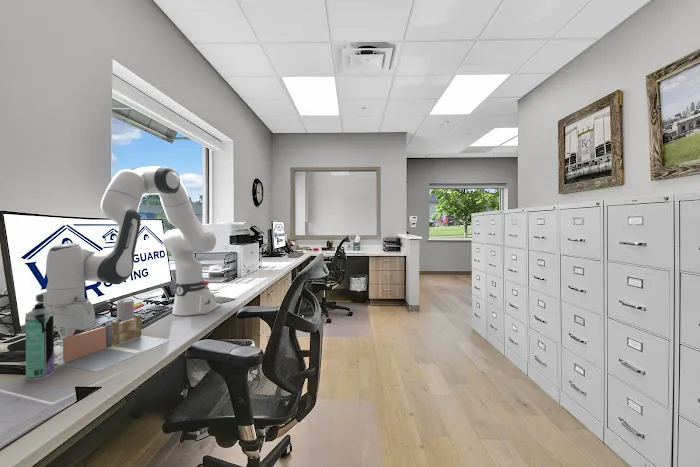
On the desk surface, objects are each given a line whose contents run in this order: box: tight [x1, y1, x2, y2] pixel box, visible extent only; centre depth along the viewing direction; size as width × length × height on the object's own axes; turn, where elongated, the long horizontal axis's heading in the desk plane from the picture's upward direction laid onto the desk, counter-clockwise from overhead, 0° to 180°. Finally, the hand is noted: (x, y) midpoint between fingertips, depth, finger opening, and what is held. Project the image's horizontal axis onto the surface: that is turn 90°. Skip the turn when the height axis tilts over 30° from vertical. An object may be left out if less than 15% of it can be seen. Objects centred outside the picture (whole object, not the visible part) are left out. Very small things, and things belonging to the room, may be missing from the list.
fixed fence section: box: [110, 313, 142, 346], centre depth 113 cm, size 10×2×8 cm, turn 163°
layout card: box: [54, 334, 172, 373], centre depth 105 cm, size 26×18×1 cm
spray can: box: [24, 302, 55, 381], centre depth 87 cm, size 6×6×20 cm
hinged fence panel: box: [62, 323, 112, 363], centre depth 101 cm, size 14×2×7 cm, turn 164°
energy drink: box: [116, 298, 135, 323], centre depth 123 cm, size 5×5×12 cm
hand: (66, 340), depth 100 cm, fingers closed
